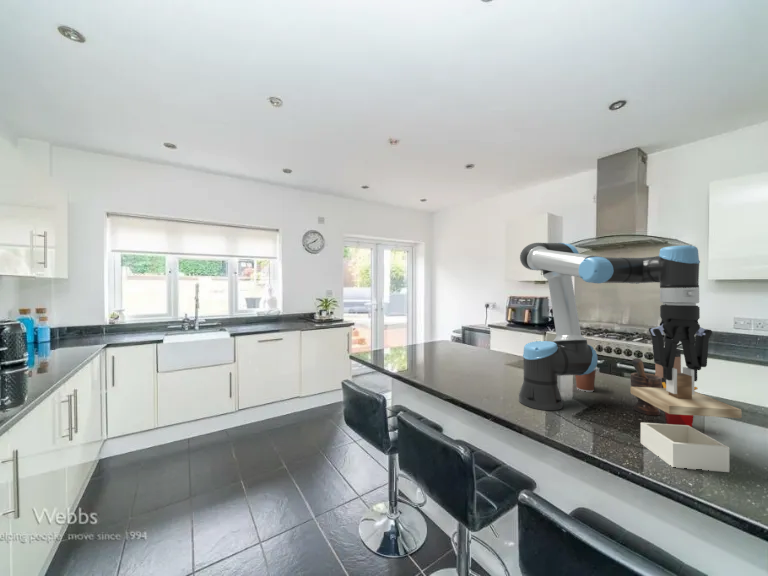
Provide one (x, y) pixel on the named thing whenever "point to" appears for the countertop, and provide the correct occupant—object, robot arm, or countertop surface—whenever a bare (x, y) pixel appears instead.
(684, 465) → the white open storage bin
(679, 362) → the travel mug
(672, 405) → the lid
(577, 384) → the coffee cup
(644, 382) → the mortar and pestle
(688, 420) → the french fries
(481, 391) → the countertop surface
